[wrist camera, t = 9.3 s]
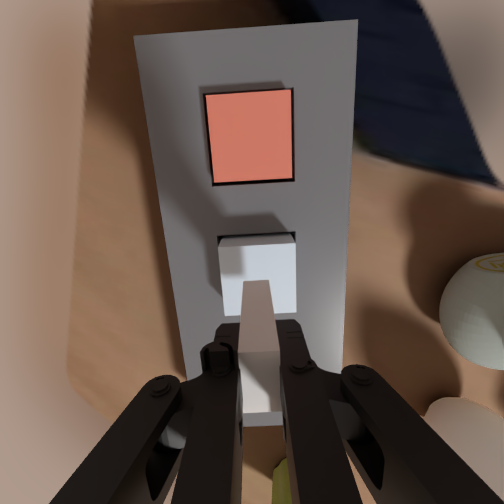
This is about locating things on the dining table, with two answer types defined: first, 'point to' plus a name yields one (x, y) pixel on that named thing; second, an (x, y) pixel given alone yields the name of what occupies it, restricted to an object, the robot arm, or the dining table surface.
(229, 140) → the red button
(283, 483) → the plant pot
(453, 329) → the air freshener
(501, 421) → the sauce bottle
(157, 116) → the button panel
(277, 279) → the white button
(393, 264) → the dining table surface
